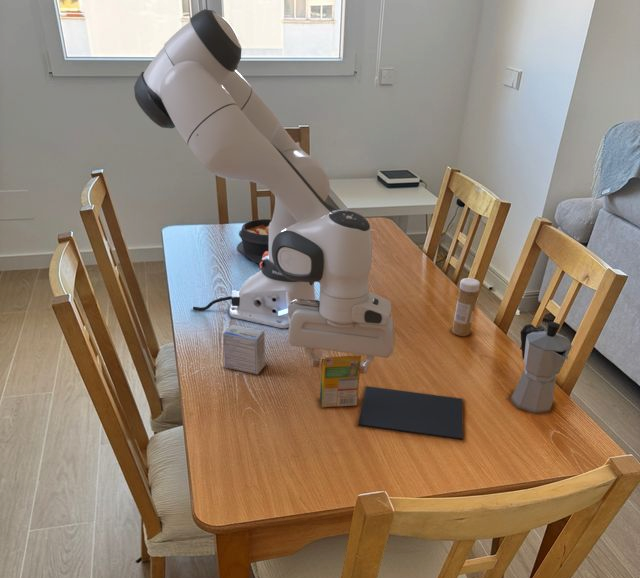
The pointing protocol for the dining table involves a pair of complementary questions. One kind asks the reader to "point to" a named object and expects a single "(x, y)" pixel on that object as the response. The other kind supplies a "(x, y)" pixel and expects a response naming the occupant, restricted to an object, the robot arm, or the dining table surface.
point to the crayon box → (339, 381)
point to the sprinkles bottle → (465, 306)
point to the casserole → (254, 239)
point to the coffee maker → (540, 366)
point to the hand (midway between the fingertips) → (339, 369)
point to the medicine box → (244, 349)
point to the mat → (412, 413)
